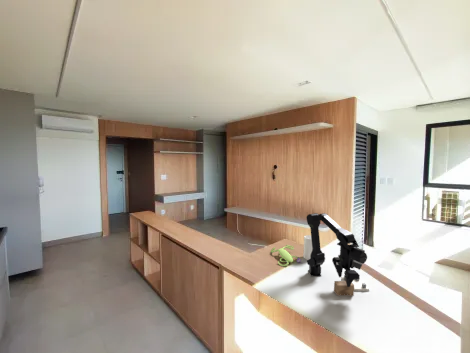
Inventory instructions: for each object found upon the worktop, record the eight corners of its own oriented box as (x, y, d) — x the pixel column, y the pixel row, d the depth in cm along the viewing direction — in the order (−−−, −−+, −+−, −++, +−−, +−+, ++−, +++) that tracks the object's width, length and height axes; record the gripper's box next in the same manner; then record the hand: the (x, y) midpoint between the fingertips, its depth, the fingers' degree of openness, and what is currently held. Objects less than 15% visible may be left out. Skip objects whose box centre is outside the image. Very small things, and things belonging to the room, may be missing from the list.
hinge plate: (349, 290, 123) (349, 285, 123) (341, 280, 133) (341, 275, 133) (368, 290, 123) (369, 285, 123) (358, 280, 133) (359, 275, 133)
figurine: (291, 249, 178) (291, 243, 177) (305, 266, 151) (305, 258, 151) (269, 250, 175) (269, 244, 175) (279, 267, 149) (280, 260, 148)
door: (337, 295, 119) (337, 285, 119) (333, 291, 123) (334, 281, 123) (354, 295, 119) (355, 285, 119) (350, 291, 123) (351, 281, 123)
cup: (313, 261, 157) (314, 240, 156) (302, 258, 162) (302, 237, 160) (315, 256, 164) (316, 236, 163) (304, 254, 169) (305, 234, 167)
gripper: (370, 263, 110) (368, 292, 111) (351, 248, 128) (349, 272, 130) (349, 263, 110) (347, 292, 111) (332, 247, 128) (331, 272, 130)
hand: (344, 281), depth 121 cm, fingers open, 9 cm apart
